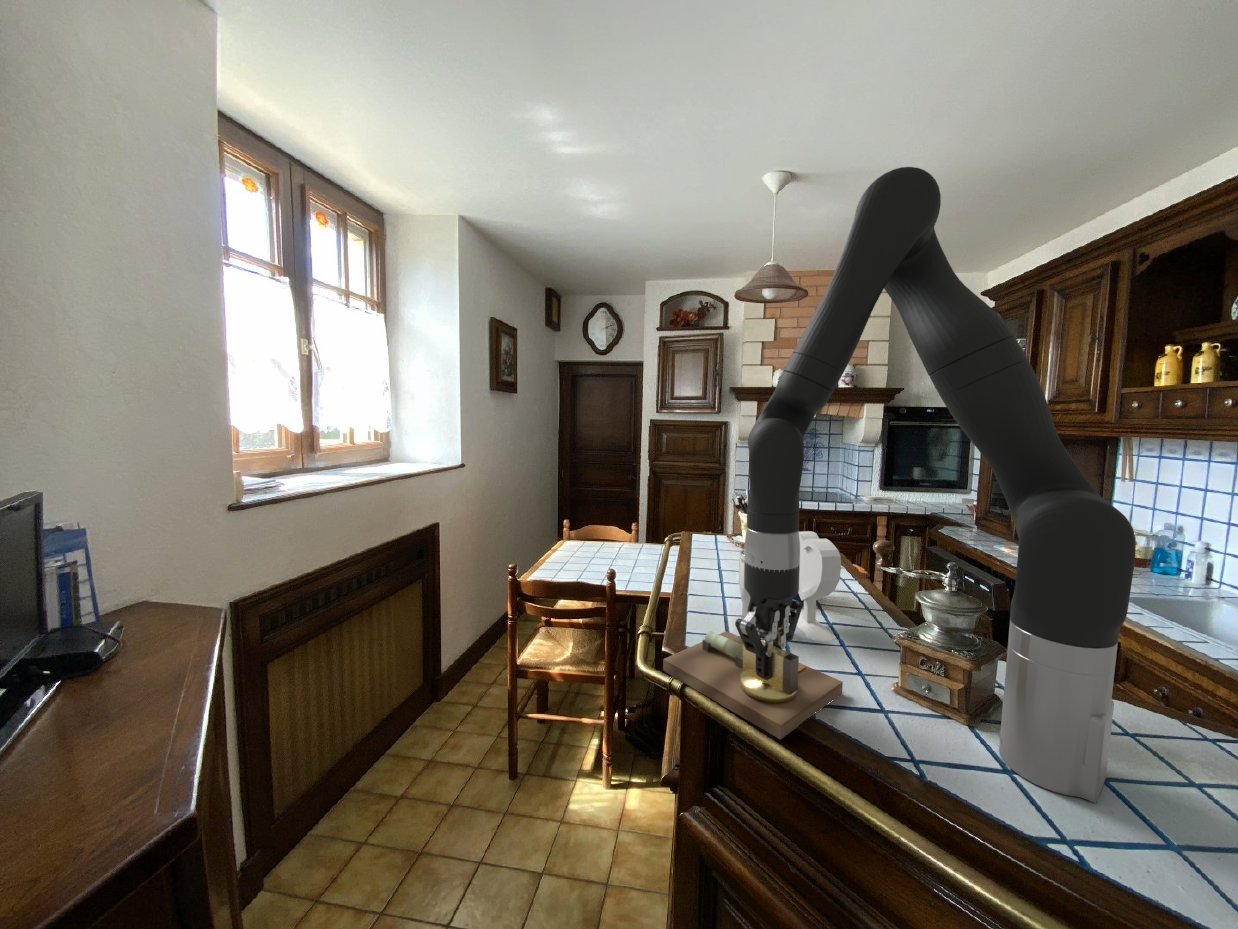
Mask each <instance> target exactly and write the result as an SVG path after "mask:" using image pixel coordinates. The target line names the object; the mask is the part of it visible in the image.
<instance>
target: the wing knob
mask: <svg viewBox="0 0 1238 929" xmlns="http://www.w3.org/2000/svg"><path fill="white" fill-rule="evenodd" d="M761 642H762V644H763V645H764V646H765V641H763V640H761ZM799 660H800V659H799V655H797V654H795V653H791V652H789V651H787V650H785V649H783V650H782V649H780V648H777V647H775V646H773V649H772V678H771V679H769V680H765V679H763V678H761V677H759V676H758V675H757V674H756V671H755V670H756V654H754V653H752V652H750V651H748V650H746V649H745V646H744V644H743V672H742V673H741V682H740V683H741V687H742V689H743V690H744V691H745V692H746V693H747V694H748V695H750V696H752V697H754V698H756V699H758V700H761V701H765V702H772V703H781V702H787V701H790V700H792V699H793V698H795V697H796V695H797V692H798V664H799V663H800V662H799Z"/></svg>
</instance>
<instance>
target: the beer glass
mask: <svg viewBox="0 0 1238 929" xmlns="http://www.w3.org/2000/svg"><path fill="white" fill-rule="evenodd" d="M744 558H745V548H743V549H741V550H740V552H739V563H738V585H739V586H738V587H739V591H740V596H741V597H740V598H741V604H742V606H741V607H742V609H741V611H742V612H741V618H740V619H742V620H744V618H745V617H746V616H747V614H748V605H749V602H750V595H749V594H748V592H747V591H746V590H745V588H744Z"/></svg>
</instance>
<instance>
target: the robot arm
mask: <svg viewBox="0 0 1238 929" xmlns="http://www.w3.org/2000/svg"><path fill="white" fill-rule="evenodd" d="M941 197H942V195H941V191H940V187H939V184H938V182H937V180H936V179H935V178H934V176H933V175H932V174H931V173H929V172H928V171H927V170H925V169H922V168H920V167H914V166H903V167H902V166H901V167H898V168H894V169H891V170H889V171H887V172H885V173H883V174H882V175H880V176H878V178H876V179H875V180H874V181H873V182H872V183H871V184H870V185H869V186H868V187H867V189H866V190H864V192H863V194H862V195H861V197H860V199H859V201H858V203H857V206H856V209H855V213H854V219H853V221H852V224H851V227H850V231H849V234H848V237H847V240H846V242H845V245H844V247H843V250H842V253H841V256H840V258H839V261H838V263H837V264H836V267H835V270H834V272H833V275H832V277H831V279H830V281H829V283H828V284H827V287H826V290H825V292H824V294H823V295H822V297H821V298H820V299H821V300H820V301H819V304H818V305H817V307H816V309H815V311H814V313H813V314H812V316H811V319H809V321H808V324H807V326H806V327H805V329H804V331H803V333H802V335H801V337H800V339H799V340H798V341H797V344H796V346H795V348H794V349H793V351H792V353H791V355H790V358H789V359H788V361H787V363H786V365H785V367H784V369H783V371H782V373H781V375H780V377H779V379H778V382H777V384H776V387H775V389H774V391H773V393H772V395H771V396H770V398H769V400H768V401H767V403H766V404H765V405H764V407H763V409H762V411H761V413H760V415H759V416H758V417H757V419H756V421H755V423H754V424H753V426H752V428H751V430H750V432H749V435H748V437H747V448H748V457H749V463H748V464H749V466H748V467H749V468H748V469H749V488H750V489H749V492H748V495H747V507H746V508H747V509H746V532H745V539H744V549H745V558H744V588H745V590H746V591H747V592H748V594H749V595H750V602H749V605H748V614H747V616H746V617H745V618H744V620H742V619H741V618H740V617H738V618H737V619H736V620H735V623H734V625H735V628H736V630H737V632H738V634H739V635H738V636H739V637H741V639H742V642H743V644H744V646H745V649H746V650H748V651H750V652H752V653H754V654H756V670H755V671H756V674H757V675H758V676H759V677H761V678H763V679H765V680H769V679H771V678H772V649H773V646H775V647H777V648H780V649H782V650H785V649H786V645H787V642H792V641H793V638H794V635H795V632H796V629H797V627H798V626H797V623H798V619H799V616H800V613H801V611H803V610H802V609H803V607H804V603H803V602H801V601H799V600H795V599H793V598H795V597H797V595H799V593H798V592H799V571H800V539H799V532H800V530H799V528H800V488H801V482H802V475H803V468H804V456H805V455H804V453H805V444H804V436H805V434H806V433H807V430H808V429H809V427H810V426H811V423H812V422H813V420H814V418H815V416H816V415H817V414H818V412H819V411H821V409H823V407H825V406H826V404H827V402H828V401H829V400H830V398H831V397H832V394H833V393H834V391H835V389H836V387H837V385H838V383H839V382H840V381H841V378H842V376H843V375H844V373H845V371H846V369H847V367H848V365H849V363H850V361H851V359H852V357H853V355H854V353H855V351H856V348H857V347H858V344H859V342H860V339H861V338H862V335H863V333H864V331H865V328H866V326H867V325H868V324H867V323H868V321H869V319H870V316H871V314H872V312H873V310H874V308H875V306H876V304H877V302H878V300H879V298H880V296H881V295H882V292H883V291H884V290H885V293H886V294H887V295H888V296H889V297H890V299H891V301H892V302H893V303H894V305H895V307H896V310H898V313H899V315H900V317H901V319H902V322H903V325H904V326H905V329H906V331H907V334H908V335H909V338H910V340H911V342H912V345H913V347H914V348H915V351H916V352H917V354H918V357H919V359H920V360H921V363H922V365H923V367H924V369H925V371H926V373H927V375H928V376H929V378H930V381H931V383H932V384H933V386H934V388H935V390H936V392H937V394H938V395H939V396H940V398H941V400H942V402H943V403H944V405H945V406H946V408H947V410H948V412H949V413H950V414H951V416H952V417H953V419H954V421H955V422H956V423H957V424H958V426H959V427H960V429H961V431H963V433H964V434H965V435H966V436H967V438H968V439H969V440H970V442H971V443H972V444H973V445H974V447H975V448H976V449H977V450H978V451H979V453H980V454H981V455H982V456H983V458H984V459H985V461H986V462H987V463H988V465H989V467H990V468H991V471H992V472H993V474H994V477H995V479H996V480H997V483H998V485H999V487H1000V489H1001V492H1002V495H1003V497H1004V498H1005V502H1006V504H1007V506H1008V509H1009V511H1010V514H1011V517H1012V520H1013V524H1014V527H1015V531H1016V534H1017V537H1018V546H1017V547H1018V548H1017V559H1016V560H1017V561H1016V573H1015V584H1014V590H1013V595H1012V597H1011V602H1010V614H1009V615H1010V616H1009V628H1008V642H1007V652H1006V665H1005V674H1004V675H1005V676H1004V687H1003V697H1002V698H1003V699H1002V708H1001V709H1002V711H1001V724H1000V733H999V745H998V746H999V747H998V752H999V755H1000V758H1001V759H1002V761H1003V762H1004V764H1006V766H1007V767H1008V768H1010V769H1011V770H1012V771H1013V772H1015V773H1016V774H1017V775H1019V776H1021V777H1022V778H1023V779H1025V780H1027V781H1028V782H1030V783H1032V784H1034V785H1037V786H1039V787H1041V788H1043V789H1046V790H1049V791H1052V792H1054V793H1057V794H1061V795H1065V796H1069V797H1070V796H1071V797H1078V798H1083V799H1085V800H1087V801H1090V802H1091V803H1095V804H1096V803H1098V801H1099V797H1100V795H1101V792H1102V790H1103V786H1104V785H1105V782H1106V778H1107V771H1108V762H1109V752H1110V746H1111V736H1112V734H1111V733H1112V728H1113V727H1112V726H1113V715H1114V707H1115V703H1114V700H1112V699H1113V697H1112V696H1113V689H1114V688H1113V687H1114V678H1115V673H1116V672H1115V670H1116V663H1117V661H1116V660H1117V653H1118V643H1119V637H1120V636H1119V635H1120V630H1121V628H1122V626H1123V624H1124V623H1125V621H1126V618H1127V616H1128V610H1129V605H1130V604H1129V603H1130V598H1131V597H1130V596H1131V592H1132V591H1131V590H1132V583H1133V577H1134V571H1135V570H1134V569H1135V562H1136V552H1137V550H1136V549H1137V548H1136V547H1137V545H1136V536H1135V535H1136V534H1135V531H1134V528H1133V526H1132V523H1131V522H1130V521H1129V520H1128V518H1127V517H1126V516H1125V515H1124V514H1123V513H1122V511H1120V510H1119V509H1118V508H1116V507H1115V506H1114V505H1112V504H1111V503H1109V502H1108V501H1106V500H1105V498H1103V496H1101V495H1100V494H1099V492H1098V491H1097V490H1096V489H1095V487H1093V485H1092V484H1091V482H1090V481H1089V480H1088V478H1087V477H1086V476H1085V475H1084V473H1083V472H1082V471H1081V469H1080V468H1079V467H1078V465H1077V463H1076V462H1075V461H1074V459H1073V458H1072V457H1071V455H1070V454H1069V452H1068V451H1067V449H1066V448H1065V446H1064V444H1063V442H1062V440H1061V438H1060V436H1059V434H1058V431H1057V429H1056V427H1055V424H1054V420H1053V417H1052V414H1051V411H1050V407H1049V405H1048V400H1047V399H1046V396H1045V393H1044V391H1043V388H1042V385H1041V383H1040V380H1039V379H1038V377H1037V374H1036V372H1035V370H1034V368H1033V366H1032V364H1031V362H1030V360H1029V359H1028V356H1027V355H1026V354H1025V352H1024V350H1023V349H1022V347H1021V345H1020V344H1019V342H1018V340H1017V338H1016V337H1015V335H1014V333H1013V332H1012V330H1011V329H1010V328H1009V326H1008V325H1007V323H1006V322H1005V321H1004V320H1003V319H1002V317H1001V316H999V314H998V313H997V312H996V311H995V310H994V309H992V307H990V306H989V305H988V304H987V303H986V302H985V301H984V300H983V299H981V298H980V297H979V296H978V295H977V294H975V293H974V292H973V291H972V290H971V289H970V288H969V287H967V286H966V284H965V283H963V282H962V281H961V279H960V278H959V276H958V275H957V274H956V273H955V271H954V270H953V268H952V266H951V264H950V263H949V260H948V259H947V257H946V256H947V255H946V254H945V252H944V250H943V248H942V246H941V243H940V242H939V239H938V236H937V234H936V231H935V225H936V223H937V221H938V218H939V215H940V211H941V206H942V205H941V204H942V202H941V200H942V198H941ZM790 614H791V615H790ZM762 639H763V640H764V642H765V646H764V645H763V644H762V642H761V641H762Z"/></svg>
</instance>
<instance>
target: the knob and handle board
mask: <svg viewBox="0 0 1238 929" xmlns="http://www.w3.org/2000/svg"><path fill="white" fill-rule="evenodd" d="M662 660H663V661H662V662H663V663H662V664H663V666H662V669H663V672H665V673H666V674H668V675H669V676H671V677H673V678H675V679H677V680H678V681H680V682H682V683H683V684H685V685H687V686H689V687H690V688H692V689H694V690H695V691H697V692H699V693H701V695H702V694H703V695H704V696H706V697H707V698H709V699H710V700H712V701H714V702H715V703H717V704H719V705H720V706H722V707H724V708H726V709H728V710H729V711H730V712H733V713H735V714H736V715H738V716H739V717H741V718H742V719H745V720H746V721H748V722H750V723H751V724H753V725H755V726H756V727H759V728H760V729H762V730H763V731H765V732H767V733H768V734H770V735H771V736H774V737H775V738H777V740H782V739H783V738H784V737H786V736H788V735H789V734H790V733H791V732H793V731H794V730H795V729H797V728H798V727H800V726H801V725H802V724H803V723H802V722H803V721H804V720H805V719H806V718H809V717H810V716H811V715H813V714H814V713H815V712H817V711H819V710H820V709H821V708H823V707H824V706H825V705H827V704H828V703H829V702H831V701H832V700H834V699H835V700H837V699H838V698H839V697H841V696H842V695H843V681H842V680H840V679H837V678H836V677H833V676H831V675H828V674H826V673H824V672H822V671H819V670H816V669H814V668H812V667H810V666H808V665H805V664H803V663H801V662H799V664H798V692H797V695H796V697H795V698H793V699H792V700H790V701H787V702H781V703H772V702H765V701H761V700H758V699H756V698H754V697H752V696H750V695H748V694H747V693H746V692H745V691H744V690H743V689H742V687H741V683H740V682H741V673H742V672H743V642H742V639H741V637H740V635H737V634H735V633H733V632H729V631H728V630H726V631H722V633H717V632H715V631H713V630H709V631H708V632H706V634H705V636H704V639H703V640H702V641H701V642H699V643H696V644H693V645H692V646H690V647H687V648H685V649H683V650H680V651H678V652H676V653H674V654H672V655H670V656H668V657H665V658H663V659H662ZM841 694H842V695H841ZM840 695H841V696H840ZM838 696H839V697H838ZM837 697H838V698H837ZM835 700H834V701H835ZM832 702H833V701H832ZM832 702H831V703H832ZM828 705H829V704H828ZM828 705H827V706H828ZM824 708H825V707H824ZM824 708H823V709H824ZM821 710H822V709H821ZM821 710H820V711H821ZM820 711H819V712H820ZM817 713H818V712H817ZM813 716H814V715H813ZM809 719H810V718H809ZM801 723H802V724H801ZM800 724H801V725H800ZM799 725H800V726H799Z"/></svg>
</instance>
